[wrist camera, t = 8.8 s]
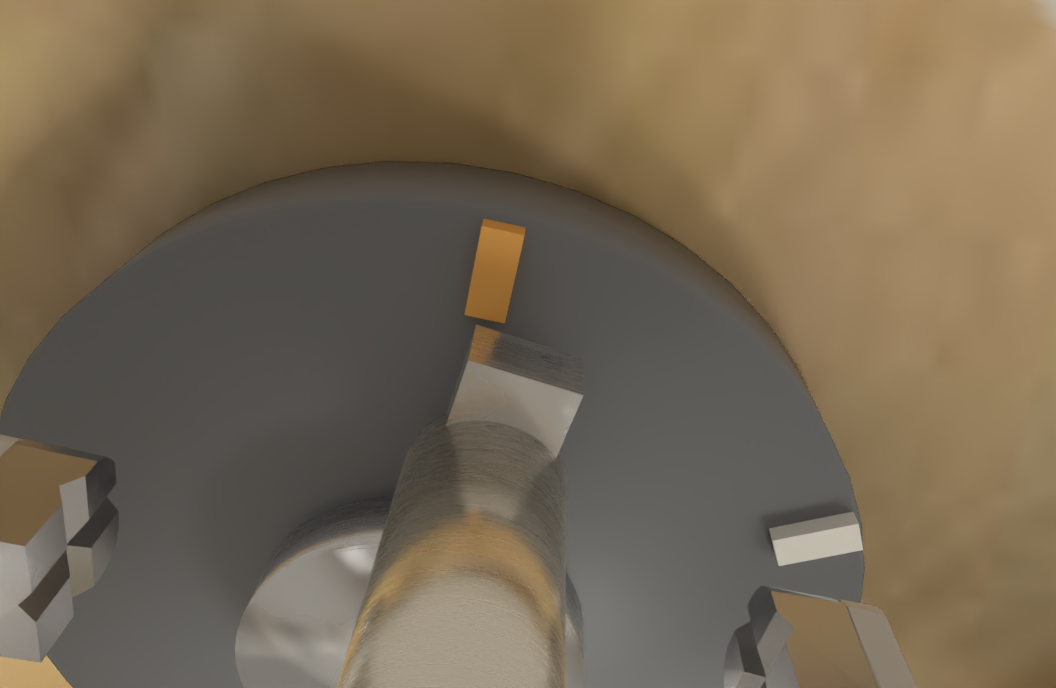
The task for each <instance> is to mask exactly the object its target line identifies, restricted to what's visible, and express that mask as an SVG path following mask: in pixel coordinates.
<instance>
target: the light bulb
mask: <svg viewBox="0 0 1056 688" xmlns="http://www.w3.org/2000/svg"><path fill="white" fill-rule="evenodd" d="M582 398H583V358H582V357H579V356H576V355H573V354H570V353H566V352H563V351H560V350H557V349H553V348H550V347H547V346H544V345H541V344H537V343H534V342H531V341H528V340H524V339H521V338H518V337H515V336H511V335H508V334H505V333H502V332H499V331H495V330H492V329H489V328H486V327H482V326H479V325H476V327H475V330H474V333H473V336H472V339H471V342H470V345H469V347H468V350H467V353H466V356H465V359H464V362H463V365H462V368H461V371H460V374H459V377H458V380H457V383H456V386H455V389H454V392H453V395H452V398H451V401H450V404H449V407H448V410H447V413H446V415H444V416H442V417H440V418H437V419H435V420H434V421H432V422H431V423H429V424H428V425H427V426H425V427H424V428H423V429H422V430H421V431H420V432H419V433H418V434H417V435H416V437H415V438H414V439H413V441H412V442H411V444H410V446H409V448H408V451H407V453H406V456H405V460H404V463H403V466H402V470H401V473H400V476H399V480H398V483H397V486H396V490H395V493H394V496H393V497H383V498H372V499H367V500H362V501H356V502H351V503H348V504H345V505H342V506H339V507H335V508H332V509H330V510H328V511H325V512H323V513H321V514H319V515H317V516H315V517H313V518H311V519H309V520H308V521H306V522H305V523H303V524H302V525H300V526H299V527H297V528H296V529H295V530H294V531H292V532H291V533H290V534H289V535H288V536H287V537H286V538H285V539H284V540H283V541H282V542H281V543H280V544H279V546H278V547H277V548H276V549H275V551H274V552H273V554H272V555H271V557H270V559H269V561H268V563H267V564H266V566H265V568H264V571H263V573H262V575H261V577H260V579H259V582H258V584H257V586H256V588H255V590H254V592H253V595H252V597H251V599H250V601H249V603H248V605H247V608H246V610H245V612H244V614H243V616H242V619H241V621H240V625H239V628H238V631H237V634H236V643H235V657H236V666H237V669H238V673H239V677H240V680H241V682H242V684H243V686H244V688H584V624H583V614H582V608H581V603H580V600H579V597H578V595H577V592H576V589H575V587H574V585H573V584H572V582H571V580H570V578H569V576H568V574H567V573H566V511H567V472H566V465H565V462H564V459H563V456H562V454H561V452H560V448H561V446H562V444H563V441H564V439H565V437H566V435H567V432H568V430H569V428H570V425H571V423H572V421H573V418H574V416H575V414H576V412H577V409H578V407H579V405H580V402H581V400H582Z"/></svg>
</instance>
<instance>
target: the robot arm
mask: <svg viewBox="0 0 1056 688" xmlns="http://www.w3.org/2000/svg"><path fill="white" fill-rule="evenodd" d="M116 484H117V479H116V469H115V462H114V461H113V460H111V459H110V458H108V457H105V456H101V455H96V454H92V453H87V452H83V451H78V450H74V449H69V448H65V447H60V446H56V445H51V444H47V443H42V442H38V441H33V440H28V439H25V440H23V439H19V438H15V437H10V436H6V435H1V434H0V656H2V657H8V658H15V659H21V660H28V661H35V662H42V660H43V659H44V657H45V656H46V655H47V653H48V652H49V650H50V649H51V647H52V646H53V645H54V643H55V642H56V640H57V639H58V637H59V636H60V635H61V633H62V632H63V630H64V629H65V628H66V626H67V625H68V623H69V622H70V620H71V619H72V618H73V616H74V615H73V603H72V598H73V597H75V596H77V595H79V594H81V593H83V592H85V591H86V590H88V589H90V588H92V587H94V586H95V584H96V583H97V581H98V580H99V578H100V577H101V575H102V574H103V572H104V571H105V569H106V568H107V566H108V563H109V561H110V558H111V556H112V553H113V551H114V548H115V546H116V542H117V536H118V529H119V512H118V510H117V509H116V507H115V506H114V505H113V504H112V502H111V501H110V500H109V499H108V498H107V495H108V494H109V493H110V492H111V490H112V489H113V488H114V486H115V485H116ZM747 608H748V612H749V616H750V620H751V621H749V622H748V623H746V624H744V625H742V626H741V627H739V628H737V629H735V631H734V633H733V635H732V638H731V640H730V642H729V644H728V647H727V650H726V656H725V662H724V668H723V674H724V688H917V685H916V683H915V681H914V679H913V676H912V674H911V672H910V670H909V667H908V665H907V663H906V661H905V658H904V656H903V654H902V652H901V649H900V647H899V645H898V643H897V640H896V638H895V636H894V634H893V631H892V629H891V627H890V625H889V622H888V620H887V618H886V616H885V614H884V613H883V612H882V611H881V610H880V609H879V608H878V607H877V606H874V605H869V604H863V603H858V602H852V601H847V600H841V599H837V600H835V599H833V598H828V597H823V596H817V595H812V594H807V593H801V592H796V591H791V590H785V589H780V588H775V587H769V586H764V585H762V586H760V587H759V588H758V589H757V590H756V591H755V592H754V593H753V595H752V597H751V599H750V601H749V603H748V605H747Z"/></svg>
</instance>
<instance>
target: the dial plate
mask: <svg viewBox="0 0 1056 688" xmlns="http://www.w3.org/2000/svg"><path fill="white" fill-rule="evenodd" d="M476 325H479V326H482V327H486V328H489V329H492V330H495V331H499V332H502V333H505V334H508V335H511V336H515V337H518V338H521V339H524V340H528V341H531V342H534V343H537V344H541V345H544V346H547V347H550V348H553V349H557V350H560V351H563V352H566V353H570V354H573V355H576V356H579V357H582V358H583V398H582V400H581V402H580V405H579V407H578V409H577V412H576V414H575V416H574V418H573V421H572V423H571V425H570V428H569V430H568V432H567V435H566V437H565V439H564V441H563V444H562V446H561V448H560V452H561V454H562V456H563V459H564V462H565V465H566V472H567V511H566V573H567V574H568V576H569V578H570V580H571V582H572V584H573V585H574V587H575V589H576V592H577V595H578V597H579V600H580V603H581V608H582V614H583V624H584V688H724V674H723V668H724V662H725V656H726V650H727V647H728V644H729V642H730V640H731V638H732V635H733V633H734V631H735V629H737V628H739V627H741V626H742V625H744V624H746V623H748V622H749V621H751V620H750V616H749V612H748V608H747V605H748V603H749V601H750V599H751V597H752V595H753V593H754V592H755V591H756V590H757V589H758V588H759V587H760V586H762V585H764V586H769V587H775V588H780V589H785V590H791V591H796V592H801V593H807V594H812V595H817V596H823V597H828V598H833V599H835V600H837V599H841V600H847V601H852V602H858V603H861V594H862V586H863V577H864V553H863V539H862V525H861V520H860V516H859V512H858V508H857V504H856V501H855V497H854V493H853V489H852V485H851V481H850V477H849V475H848V473H847V471H846V469H845V466H844V464H843V462H842V460H841V458H840V456H839V453H838V451H837V449H836V447H835V445H834V443H833V440H832V438H831V436H830V434H829V432H828V430H827V427H826V425H825V423H824V421H823V419H822V417H821V415H820V413H819V411H818V409H817V407H816V405H815V403H814V400H813V398H812V396H811V394H810V392H809V390H808V388H807V386H806V384H805V382H804V380H803V378H802V376H801V374H800V371H799V369H798V367H797V365H796V364H795V362H794V361H793V359H792V358H791V356H790V355H789V353H788V352H787V351H786V349H785V348H784V346H783V345H782V343H781V342H780V340H779V339H778V337H777V336H776V334H775V333H774V331H773V330H772V328H771V327H770V325H769V324H768V323H767V322H766V321H765V319H764V318H763V317H762V316H761V315H760V314H759V313H758V312H757V311H756V310H755V309H754V308H753V306H752V305H751V304H750V303H749V302H748V301H747V300H746V299H745V298H744V297H743V296H742V295H741V293H740V292H739V291H738V290H737V289H736V288H735V287H734V286H733V285H732V284H731V283H730V282H729V281H727V280H726V279H725V278H724V277H723V276H721V275H720V274H719V273H718V272H716V271H715V270H714V269H713V268H711V267H710V266H709V265H708V264H706V263H705V262H704V261H703V260H702V259H700V258H699V257H698V256H697V255H695V254H694V253H693V252H692V251H690V250H689V249H688V248H687V247H685V246H683V245H682V244H680V243H678V242H677V241H675V240H673V239H672V238H670V237H668V236H667V235H665V234H663V233H662V232H660V231H658V230H657V229H655V228H653V227H652V226H650V225H649V224H647V223H645V222H644V221H642V220H640V219H639V218H637V217H635V216H633V215H631V214H628V213H626V212H624V211H622V210H619V209H617V208H615V207H612V206H610V205H608V204H606V203H603V202H601V201H599V200H596V199H594V198H592V197H589V196H587V195H585V194H583V193H580V192H578V191H575V190H571V189H568V188H565V187H561V186H558V185H554V184H551V183H547V182H544V181H540V180H537V179H534V178H530V177H527V176H523V175H520V174H516V173H511V172H505V171H498V170H492V169H485V168H479V167H473V166H466V165H460V164H453V163H428V162H391V161H385V162H375V163H366V164H356V165H347V166H337V167H328V168H321V169H317V170H313V171H309V172H305V173H301V174H297V175H293V176H289V177H285V178H281V179H276V180H272V181H268V182H264V183H262V184H260V185H257V186H255V187H252V188H250V189H247V190H245V191H242V192H240V193H237V194H235V195H232V196H230V197H227V198H225V199H222V200H220V201H218V202H215V203H213V204H211V205H209V206H207V207H205V208H204V209H202V210H200V211H199V212H197V213H195V214H194V215H192V216H190V217H189V218H187V219H185V220H184V221H182V222H180V223H179V224H177V225H175V226H174V227H172V228H170V229H169V230H167V231H165V232H164V233H163V234H161V235H160V236H159V237H158V238H157V239H155V240H154V241H153V242H152V243H150V244H149V245H148V246H147V247H146V248H144V249H143V250H142V251H141V252H139V253H138V254H137V255H136V256H135V257H133V258H132V259H131V260H130V261H128V262H127V263H126V264H125V265H123V266H122V267H121V268H120V269H119V270H117V271H116V272H115V273H114V274H112V275H111V276H110V277H109V278H108V279H106V280H105V281H104V282H103V283H102V284H100V285H99V286H98V287H97V288H96V289H94V290H93V291H92V292H91V293H90V294H89V295H87V296H86V297H85V298H84V299H83V300H81V301H80V302H79V303H78V304H77V305H76V306H74V307H73V308H72V309H71V310H70V311H68V312H67V313H66V314H65V315H64V316H62V318H61V319H60V320H59V321H58V322H57V324H56V325H55V326H54V327H53V329H52V330H51V331H50V332H49V333H48V335H47V336H46V337H45V338H44V339H43V341H42V342H41V343H40V344H39V346H38V347H37V348H36V349H35V350H34V352H33V353H32V354H31V355H30V356H29V358H28V360H27V362H26V364H25V366H24V367H23V369H22V371H21V373H20V375H19V377H18V378H17V380H16V382H15V384H14V386H13V388H12V389H11V391H10V393H9V395H8V397H7V399H6V402H5V405H4V408H3V411H2V414H1V418H0V434H1V435H6V436H10V437H15V438H19V439H23V440H25V439H28V440H33V441H38V442H42V443H47V444H51V445H56V446H60V447H65V448H69V449H74V450H78V451H83V452H87V453H92V454H96V455H101V456H105V457H108V458H110V459H111V460H113V461H114V462H115V469H116V479H117V484H116V485H115V486H114V488H113V489H112V490H111V492H110V493H109V494H108V495H107V498H108V499H109V500H110V501H111V502H112V504H113V505H114V506H115V507H116V509H117V510H118V512H119V529H118V536H117V542H116V546H115V548H114V551H113V553H112V556H111V558H110V561H109V563H108V566H107V568H106V569H105V571H104V572H103V574H102V575H101V577H100V578H99V580H98V581H97V583H96V584H95V586H94V587H92V588H90V589H88V590H86V591H85V592H83V593H81V594H79V595H77V596H75V597H73V598H72V603H73V615H74V616H73V618H72V619H71V620H70V622H69V623H68V625H67V626H66V628H65V629H64V630H63V632H62V633H61V635H60V636H59V637H58V639H57V640H56V642H55V643H54V645H53V646H52V647H51V649H50V650H49V652H48V653H47V656H48V658H49V659H50V660H51V661H52V663H53V664H54V665H55V667H56V668H57V669H58V670H59V672H60V673H61V674H62V675H63V677H64V678H65V679H66V681H67V682H68V683H69V684H70V685H71V686H72V687H73V688H244V686H243V684H242V682H241V680H240V677H239V673H238V669H237V666H236V657H235V643H236V634H237V631H238V628H239V625H240V621H241V619H242V616H243V614H244V612H245V610H246V608H247V605H248V603H249V601H250V599H251V597H252V595H253V592H254V590H255V588H256V586H257V584H258V582H259V579H260V577H261V575H262V573H263V571H264V568H265V566H266V564H267V563H268V561H269V559H270V557H271V555H272V554H273V552H274V551H275V549H276V548H277V547H278V546H279V544H280V543H281V542H282V541H283V540H284V539H285V538H286V537H287V536H288V535H289V534H290V533H291V532H292V531H294V530H295V529H296V528H297V527H299V526H300V525H302V524H303V523H305V522H306V521H308V520H309V519H311V518H313V517H315V516H317V515H319V514H321V513H323V512H325V511H328V510H330V509H332V508H335V507H339V506H342V505H345V504H348V503H351V502H356V501H362V500H367V499H372V498H383V497H393V496H394V493H395V490H396V486H397V483H398V480H399V476H400V473H401V470H402V466H403V463H404V460H405V456H406V453H407V451H408V448H409V446H410V444H411V442H412V441H413V439H414V438H415V437H416V435H417V434H418V433H419V432H420V431H421V430H422V429H423V428H424V427H425V426H427V425H428V424H429V423H431V422H432V421H434V420H435V419H437V418H440V417H442V416H444V415H446V413H447V410H448V407H449V404H450V401H451V398H452V395H453V392H454V389H455V386H456V383H457V380H458V377H459V374H460V371H461V368H462V365H463V362H464V359H465V356H466V353H467V350H468V347H469V345H470V342H471V339H472V336H473V333H474V330H475V327H476Z"/></svg>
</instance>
